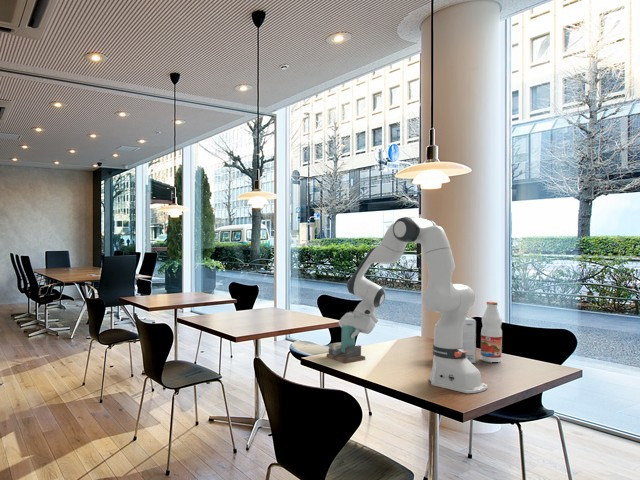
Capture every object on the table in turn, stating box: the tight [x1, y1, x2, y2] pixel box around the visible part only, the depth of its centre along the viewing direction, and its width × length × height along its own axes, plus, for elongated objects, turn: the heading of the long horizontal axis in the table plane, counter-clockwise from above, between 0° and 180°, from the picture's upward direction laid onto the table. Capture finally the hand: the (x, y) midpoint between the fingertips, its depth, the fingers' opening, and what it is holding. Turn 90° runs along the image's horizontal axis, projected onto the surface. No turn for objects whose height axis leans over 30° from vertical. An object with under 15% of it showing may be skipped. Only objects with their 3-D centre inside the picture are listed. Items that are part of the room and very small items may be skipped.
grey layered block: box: [326, 342, 366, 364], centre depth 218 cm, size 14×12×6 cm
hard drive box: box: [463, 317, 477, 364], centre depth 218 cm, size 16×8×20 cm, turn 84°
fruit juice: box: [480, 300, 503, 363], centre depth 220 cm, size 9×9×28 cm
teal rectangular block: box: [341, 325, 356, 353], centre depth 217 cm, size 4×5×12 cm
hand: (347, 336), depth 216 cm, fingers closed on teal rectangular block, 4 cm apart
